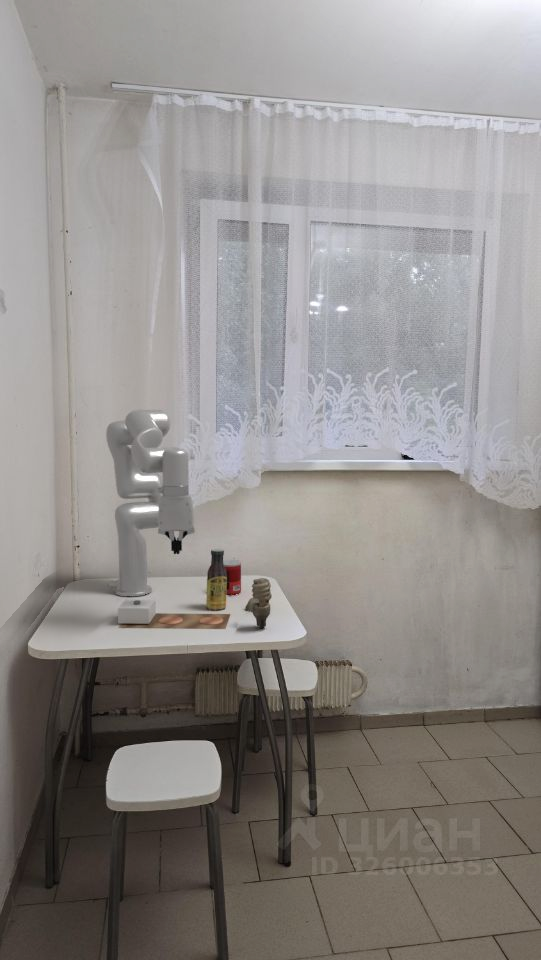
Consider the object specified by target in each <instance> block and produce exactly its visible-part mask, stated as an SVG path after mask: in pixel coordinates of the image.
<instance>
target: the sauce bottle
mask: <svg viewBox="0 0 541 960" xmlns="http://www.w3.org/2000/svg"><path fill="white" fill-rule="evenodd" d="M210 555H211V561H210V563H211V564H210V566H209V568H208V570H207V576H206V577H207V578H206V601H205V602H206V604H205V605H206V606H205V607H206V611H209V612H220V611H224V610H225V609H226V607H227V596H226V585H227V575H226V568H225V566H224V564H223V560H224V556H225V550H224V549H223V548H212V549H211V550H210Z"/></svg>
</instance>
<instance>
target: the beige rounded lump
mask: <svg viewBox="0 0 541 960" xmlns="http://www.w3.org/2000/svg"><path fill="white" fill-rule="evenodd" d="M272 598H273V597H272V591H270V597H269V599H267V600H266V603H268V604H270V600H271V599H272ZM254 603H259V600H258V599H257V598H254V597H253V596H252V597H251V598H249V600H248V601H247V604H246V605H245V607H244V608H245V609H246V611H247V610H248V612H250V611H251V613H253V610H252V607H253V604H254ZM245 609H244V610H245Z"/></svg>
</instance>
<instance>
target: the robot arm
mask: <svg viewBox="0 0 541 960" xmlns="http://www.w3.org/2000/svg"><path fill="white" fill-rule="evenodd" d="M170 429H171V419H170V417H169V415H168V414H167V412H165V411H164V410H162V409H135V410H132V411H130V412H129V413H128V414H126V416H125V418H124V420H116V421H113V422H110V423H109V424H108V425H107V427H106V432H105V433H106V437H105V438H106V444H107V446H108V449H109V452H110V455H111V457H112V460H113V466H114V467H113V468H114V478H115V485H116V493H117V495H118V497H120V498H121V499H124V500H126V499H127V500H128V499H129V500H131V499H132V500H134V499H135V500H136V499H147V500H148V501H135V502H125V503H121V504H120V505H118V506H117V507H116V508H115V510H114V521H115V525H116V531H117V540H118V543H117V544H118V572H119V573H118V574H119V575H118V576H119V579H117V580H113V579H112V580H110V579H108V580H107V587H110V588H111V587H112V588H114V587H115V588H116V589H115V590H114V592H115V595H117V596H120V597H127V596H130V597H131V596H132V597H139V596H140V595H141V596H145V594H146V595H148V593H149V594H150V593H152V590H153V588H152V586H150V585H149V584H148V561H147V560H148V557H147V556H148V553H147V541H146V539H145V537H144V536H143V535H142V534H141V533H140V530H148V529H158V530H157V534H159V535H163V536H166V537H167V538H168V539H169V540H170V543H171V544H170V545H171V547H170V548H171V550H170V551H172V552H173V555H180V553H181V551H183V545H182V544H183V543H182V542H183V539H184V538H185V537H186V536H187V535H192V534H194V533H195V532H196V530H195V527H194V523H195V521H194V519H195V518H194V506H193V499H192V495H190V494H189V493H190V492H189V491H190V490H189V489H190V488H189V487H190V486H189V482H190V481H189V478H190V477H189V453H188V451H187V450H186V449H181V448H179V447H174V446H173V447H172V446H170V447H169V446H167V447H164V446H163V447H162V446H161V447H160V445H161V444H162V442H163V438H164V437H166V435H167V434H168V433H169V431H170ZM159 473H162V477H161V476H160V474H159ZM175 532H178V537H176V536H175Z"/></svg>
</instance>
